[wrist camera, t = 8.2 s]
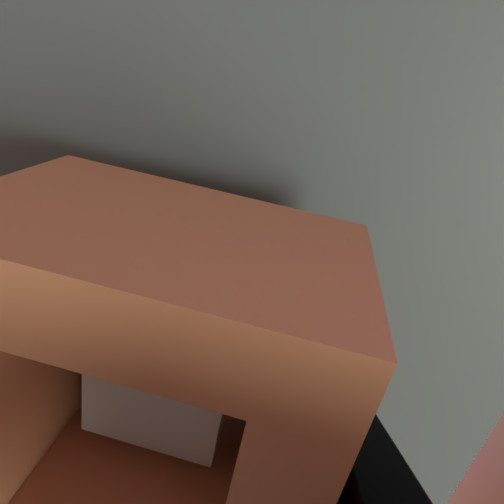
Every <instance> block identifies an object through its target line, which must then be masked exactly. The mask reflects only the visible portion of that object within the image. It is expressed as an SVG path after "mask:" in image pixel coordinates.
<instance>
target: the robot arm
mask: <svg viewBox="0 0 504 504" xmlns="http://www.w3.org/2000/svg"><path fill="white" fill-rule="evenodd" d="M337 504H433V503H432V501H431V500H430V498H429V496H428V495H427V493H426V492H425V490H424V489H423V487H422V485H421V484H420V482H419V481H418V479H417V478H416V476H415V474H414V473H413V471H412V470H411V468H410V467H409V465H408V463H407V462H406V460H405V459H404V457H403V456H402V454H401V452H400V451H399V449H398V448H397V446H396V445H395V443H394V441H393V440H392V438H391V437H390V435H389V434H388V432H387V430H386V429H385V427H384V426H383V424H382V423H381V421H380V419H379V418H378V416H377V415H376V414H375V417H374V419H373V421H372V424H371V426H370V428H369V430H368V433H367V435H366V437H365V440H364V442H363V444H362V446H361V449H360V451H359V453H358V456H357V458H356V460H355V462H354V465H353V467H352V469H351V472H350V474H349V476H348V479H347V481H346V483H345V485H344V488H343V490H342V492H341V495H340V497H339V499H338V501H337Z"/></svg>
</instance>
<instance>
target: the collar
mask: <svg viewBox="0 0 504 504" xmlns="http://www.w3.org/2000/svg"><path fill="white" fill-rule="evenodd" d="M397 364H398V363H397V359H396V354H395V350H394V346H393V341H392V337H391V332H390V328H389V323H388V319H387V314H386V310H385V305H384V301H383V296H382V292H381V287H380V283H379V278H378V274H377V270H376V265H375V261H374V256H373V252H372V247H371V243H370V238H369V234H368V229H367V226H366V225H362V224H358V223H353V222H349V221H345V220H341V219H336V218H332V217H328V216H324V215H320V214H315V213H311V212H307V211H303V210H298V209H294V208H290V207H286V206H282V205H277V204H273V203H269V202H265V201H260V200H256V199H252V198H248V197H244V196H239V195H235V194H231V193H227V192H222V191H218V190H214V189H210V188H206V187H201V186H197V185H193V184H189V183H184V182H180V181H176V180H172V179H168V178H163V177H159V176H155V175H151V174H146V173H142V172H138V171H134V170H130V169H125V168H121V167H117V166H113V165H108V164H104V163H100V162H96V161H92V160H87V159H83V158H79V157H75V156H70V155H67V156H64V157H61V158H57V159H54V160H51V161H48V162H45V163H41V164H38V165H35V166H32V167H29V168H26V169H22V170H19V171H16V172H13V173H10V174H6V175H3V176H0V504H337V501H338V499H339V497H340V495H341V492H342V490H343V488H344V485H345V483H346V481H347V479H348V476H349V474H350V472H351V469H352V467H353V465H354V462H355V460H356V458H357V456H358V453H359V451H360V449H361V446H362V444H363V442H364V440H365V437H366V435H367V433H368V430H369V428H370V426H371V424H372V421H373V419H374V417H375V414H376V412H377V410H378V408H379V405H380V403H381V401H382V398H383V396H384V394H385V391H386V389H387V387H388V385H389V382H390V380H391V378H392V375H393V373H394V371H395V369H396V366H397ZM82 374H84V375H87V376H91V377H94V378H98V379H101V380H105V381H108V382H112V383H115V384H119V385H122V386H126V387H129V388H133V389H136V390H140V391H143V392H147V393H150V394H154V395H157V396H161V397H164V398H168V399H171V400H175V401H178V402H182V403H185V404H189V405H192V406H196V407H199V408H203V409H206V410H210V411H213V412H217V413H220V414H224V415H227V417H226V420H225V423H224V426H223V430H222V433H221V436H220V439H219V443H218V446H217V449H216V452H215V455H214V459H213V462H212V465H211V468H210V467H207V466H203V465H200V464H197V463H193V462H190V461H187V460H183V459H180V458H177V457H173V456H170V455H167V454H163V453H160V452H157V451H153V450H150V449H147V448H143V447H140V446H137V445H133V444H130V443H127V442H123V441H120V440H116V439H113V438H110V437H106V436H103V435H100V434H96V433H93V432H90V431H86V430H83V429H81V417H82Z"/></svg>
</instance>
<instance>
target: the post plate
mask: <svg viewBox="0 0 504 504" xmlns="http://www.w3.org/2000/svg"><path fill="white" fill-rule="evenodd" d="M67 155H70V156H75V157H79V158H83V159H87V160H92V161H96V162H100V163H104V164H108V165H113V166H117V167H121V168H125V169H130V170H134V171H138V172H142V173H146V174H151V175H155V176H159V177H163V178H168V179H172V180H176V181H180V182H184V183H189V184H193V185H197V186H201V187H206V188H210V189H214V190H218V191H222V192H227V193H231V194H235V195H239V196H244V197H248V198H252V199H256V200H260V201H265V202H269V203H273V204H277V205H282V206H286V207H290V208H294V209H298V210H303V211H307V212H311V213H315V214H320V215H324V216H328V217H332V218H336V219H341V220H345V221H349V222H353V223H358V224H362V225H366V226H367V229H368V234H369V238H370V243H371V247H372V252H373V256H374V261H375V265H376V270H377V274H378V278H379V283H380V287H381V292H382V296H383V301H384V305H385V310H386V314H387V319H388V323H389V328H390V332H391V337H392V341H393V346H394V350H395V354H396V359H397V363H398V364H397V366H396V369H395V371H394V373H393V375H392V378H391V380H390V382H389V385H388V387H387V389H386V391H385V394H384V396H383V398H382V401H381V403H380V405H379V408H378V410H377V412H376V415H377V416H378V418H379V419H380V421H381V423H382V424H383V426H384V427H385V429H386V430H387V432H388V434H389V435H390V437H391V438H392V440H393V441H394V443H395V445H396V446H397V448H398V449H399V451H400V452H401V454H402V456H403V457H404V459H405V460H406V462H407V463H408V465H409V467H410V468H411V470H412V471H413V473H414V474H415V476H416V478H417V479H418V481H419V482H420V484H421V485H422V487H423V489H424V490H425V492H426V493H427V495H428V496H429V498H430V500H431V501H432V503H433V504H447V502H448V501H449V499H450V498H451V496H452V494H453V493H454V491H455V489H456V488H457V486H458V485H459V483H460V481H461V480H462V478H463V477H464V475H465V474H466V472H467V470H468V469H469V467H470V465H471V464H472V462H473V461H474V459H475V458H476V456H477V454H478V453H479V451H480V449H481V448H482V446H483V445H484V443H485V442H486V440H487V438H488V437H489V435H490V434H491V432H492V430H493V429H494V427H495V426H496V424H497V422H498V421H499V419H500V418H501V416H502V414H503V413H504V0H0V176H3V175H6V174H10V173H13V172H16V171H19V170H22V169H26V168H29V167H32V166H35V165H38V164H41V163H45V162H48V161H51V160H54V159H57V158H61V157H64V156H67ZM226 417H227V415H224V414H220V413H217V412H213V411H210V410H206V409H203V408H199V407H196V406H192V405H189V404H185V403H182V402H178V401H175V400H171V399H168V398H164V397H161V396H157V395H154V394H150V393H147V392H143V391H140V390H136V389H133V388H129V387H126V386H122V385H119V384H115V383H112V382H108V381H105V380H101V379H98V378H94V377H91V376H87V375H84V374H82V417H81V429H83V430H86V431H90V432H93V433H96V434H100V435H103V436H106V437H110V438H113V439H116V440H120V441H123V442H127V443H130V444H133V445H137V446H140V447H143V448H147V449H150V450H153V451H157V452H160V453H163V454H167V455H170V456H173V457H177V458H180V459H183V460H187V461H190V462H193V463H197V464H200V465H203V466H207V467H210V468H211V465H212V462H213V459H214V455H215V452H216V449H217V446H218V443H219V439H220V436H221V433H222V430H223V426H224V423H225V420H226Z"/></svg>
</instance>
